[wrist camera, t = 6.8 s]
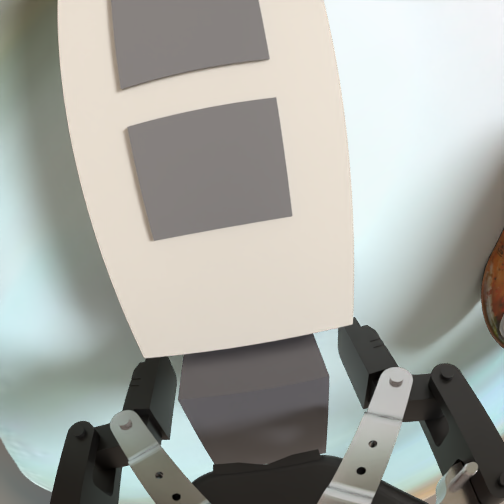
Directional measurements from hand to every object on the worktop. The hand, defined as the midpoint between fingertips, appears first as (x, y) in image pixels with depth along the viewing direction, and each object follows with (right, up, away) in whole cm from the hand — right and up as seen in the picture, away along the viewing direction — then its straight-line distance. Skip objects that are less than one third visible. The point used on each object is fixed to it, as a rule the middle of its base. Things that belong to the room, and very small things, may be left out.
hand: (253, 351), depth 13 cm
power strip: (-2, +12, -3) cm, 12 cm away
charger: (0, +2, +1) cm, 2 cm away
